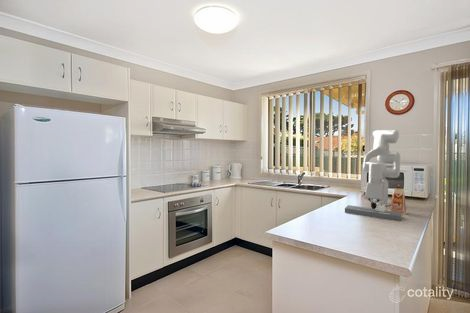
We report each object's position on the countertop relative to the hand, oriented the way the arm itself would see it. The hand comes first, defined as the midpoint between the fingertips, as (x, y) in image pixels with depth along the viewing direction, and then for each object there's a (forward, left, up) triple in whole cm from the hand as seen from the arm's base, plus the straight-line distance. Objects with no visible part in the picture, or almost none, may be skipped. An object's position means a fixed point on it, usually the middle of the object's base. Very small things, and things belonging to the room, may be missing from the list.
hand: (373, 208), depth 168 cm
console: (0, -1, -4) cm, 4 cm away
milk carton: (-19, +13, -4) cm, 24 cm away
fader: (0, +4, -1) cm, 4 cm away
